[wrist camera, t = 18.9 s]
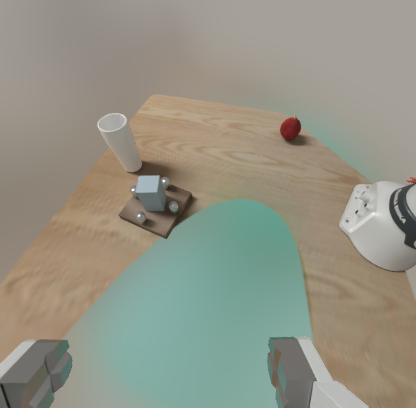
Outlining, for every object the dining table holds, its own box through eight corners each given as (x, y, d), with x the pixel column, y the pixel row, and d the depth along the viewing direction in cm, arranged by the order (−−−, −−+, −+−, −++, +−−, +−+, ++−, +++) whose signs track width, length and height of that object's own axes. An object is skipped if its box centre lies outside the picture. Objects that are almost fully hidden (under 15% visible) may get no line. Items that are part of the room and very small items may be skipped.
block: (148, 195, 51) (139, 175, 44) (166, 195, 51) (159, 175, 44) (145, 211, 49) (135, 192, 42) (164, 211, 49) (156, 192, 42)
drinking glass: (146, 157, 61) (129, 112, 48) (143, 174, 57) (124, 131, 44) (123, 158, 60) (100, 113, 48) (119, 175, 57) (93, 132, 44)
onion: (299, 140, 64) (310, 118, 57) (285, 147, 62) (294, 125, 55) (287, 130, 66) (296, 107, 60) (273, 136, 65) (281, 113, 58)
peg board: (150, 180, 56) (145, 168, 52) (191, 196, 53) (190, 185, 49) (121, 218, 50) (113, 208, 46) (166, 239, 47) (162, 230, 43)
